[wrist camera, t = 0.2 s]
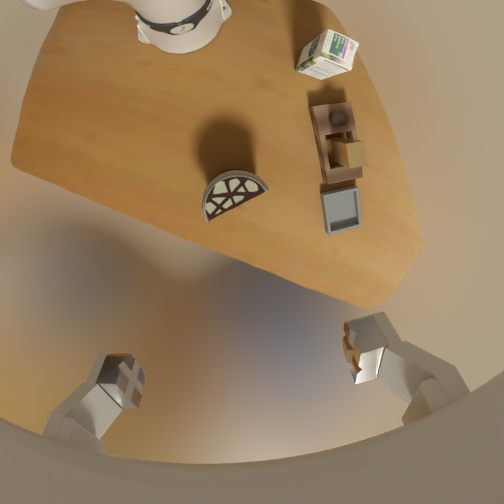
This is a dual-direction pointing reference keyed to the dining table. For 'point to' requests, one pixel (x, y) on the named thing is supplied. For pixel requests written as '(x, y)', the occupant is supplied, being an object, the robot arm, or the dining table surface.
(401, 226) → the dining table surface
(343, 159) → the gold rectangular block
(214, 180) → the food container
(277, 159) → the dining table surface
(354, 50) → the syrup box
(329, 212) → the tray
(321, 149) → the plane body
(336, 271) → the dining table surface
